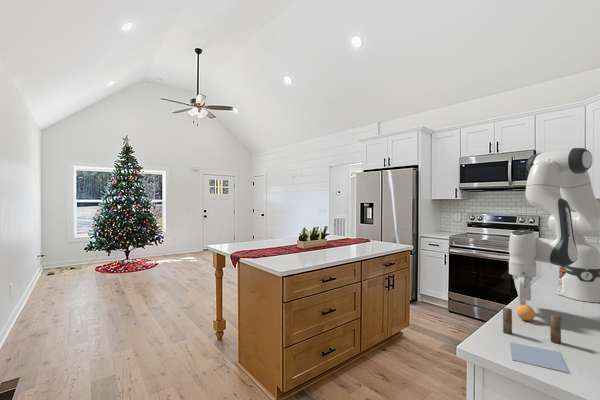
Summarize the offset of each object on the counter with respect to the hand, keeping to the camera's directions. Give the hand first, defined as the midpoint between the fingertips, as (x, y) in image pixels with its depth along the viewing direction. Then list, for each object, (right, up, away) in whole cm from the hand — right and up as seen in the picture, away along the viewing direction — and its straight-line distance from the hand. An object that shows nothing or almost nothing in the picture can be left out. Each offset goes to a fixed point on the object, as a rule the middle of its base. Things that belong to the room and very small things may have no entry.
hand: (522, 305), depth 118 cm
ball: (-5, 0, -8) cm, 9 cm away
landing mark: (-21, -3, -33) cm, 39 cm away
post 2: (-8, -3, -25) cm, 26 cm away
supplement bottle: (+50, -2, +35) cm, 61 cm away
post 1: (-19, -3, -18) cm, 26 cm away
